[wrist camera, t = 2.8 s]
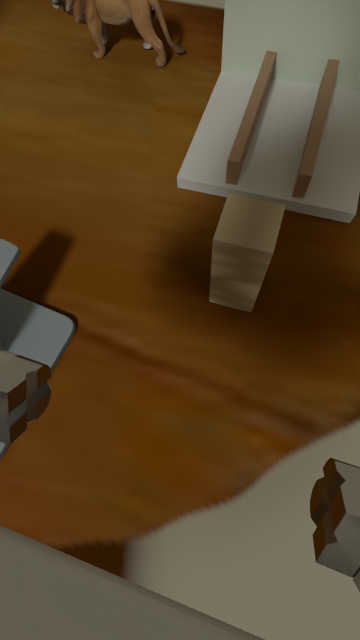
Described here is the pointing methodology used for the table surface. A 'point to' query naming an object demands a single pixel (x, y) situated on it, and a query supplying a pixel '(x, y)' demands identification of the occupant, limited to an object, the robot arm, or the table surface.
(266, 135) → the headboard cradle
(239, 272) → the beige wooden block
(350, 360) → the table surface
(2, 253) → the shower valve
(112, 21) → the lion figurine
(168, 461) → the table surface
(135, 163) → the table surface
